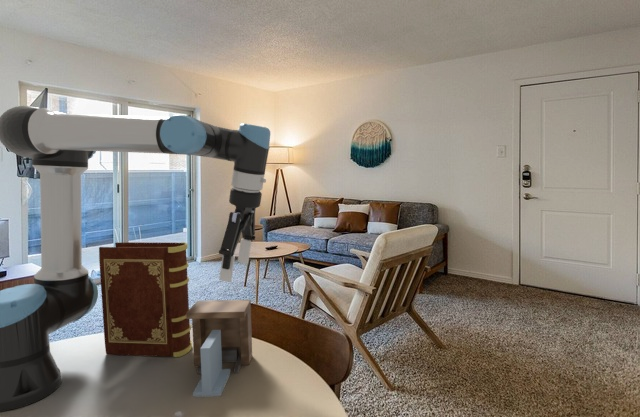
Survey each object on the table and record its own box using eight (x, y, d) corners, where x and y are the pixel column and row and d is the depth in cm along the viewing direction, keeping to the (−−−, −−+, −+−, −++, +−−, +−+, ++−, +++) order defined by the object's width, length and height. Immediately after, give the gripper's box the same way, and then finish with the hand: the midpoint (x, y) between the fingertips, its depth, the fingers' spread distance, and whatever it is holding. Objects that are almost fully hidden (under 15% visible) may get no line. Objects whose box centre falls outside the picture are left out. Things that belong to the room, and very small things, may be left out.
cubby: (189, 374, 93) (186, 312, 92) (200, 357, 102) (197, 300, 100) (246, 373, 93) (244, 311, 92) (252, 355, 102) (250, 299, 101)
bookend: (193, 396, 83) (191, 348, 83) (206, 373, 93) (204, 330, 92) (220, 396, 84) (218, 348, 83) (230, 372, 94) (228, 329, 93)
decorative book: (196, 344, 109) (191, 242, 107) (183, 358, 101) (178, 247, 99) (122, 342, 112) (116, 242, 109) (104, 355, 104) (97, 247, 101)
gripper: (246, 199, 79) (232, 293, 83) (273, 186, 104) (261, 259, 108) (212, 192, 80) (200, 286, 84) (246, 181, 104) (236, 253, 108)
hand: (234, 271), depth 96 cm, fingers open, 13 cm apart
